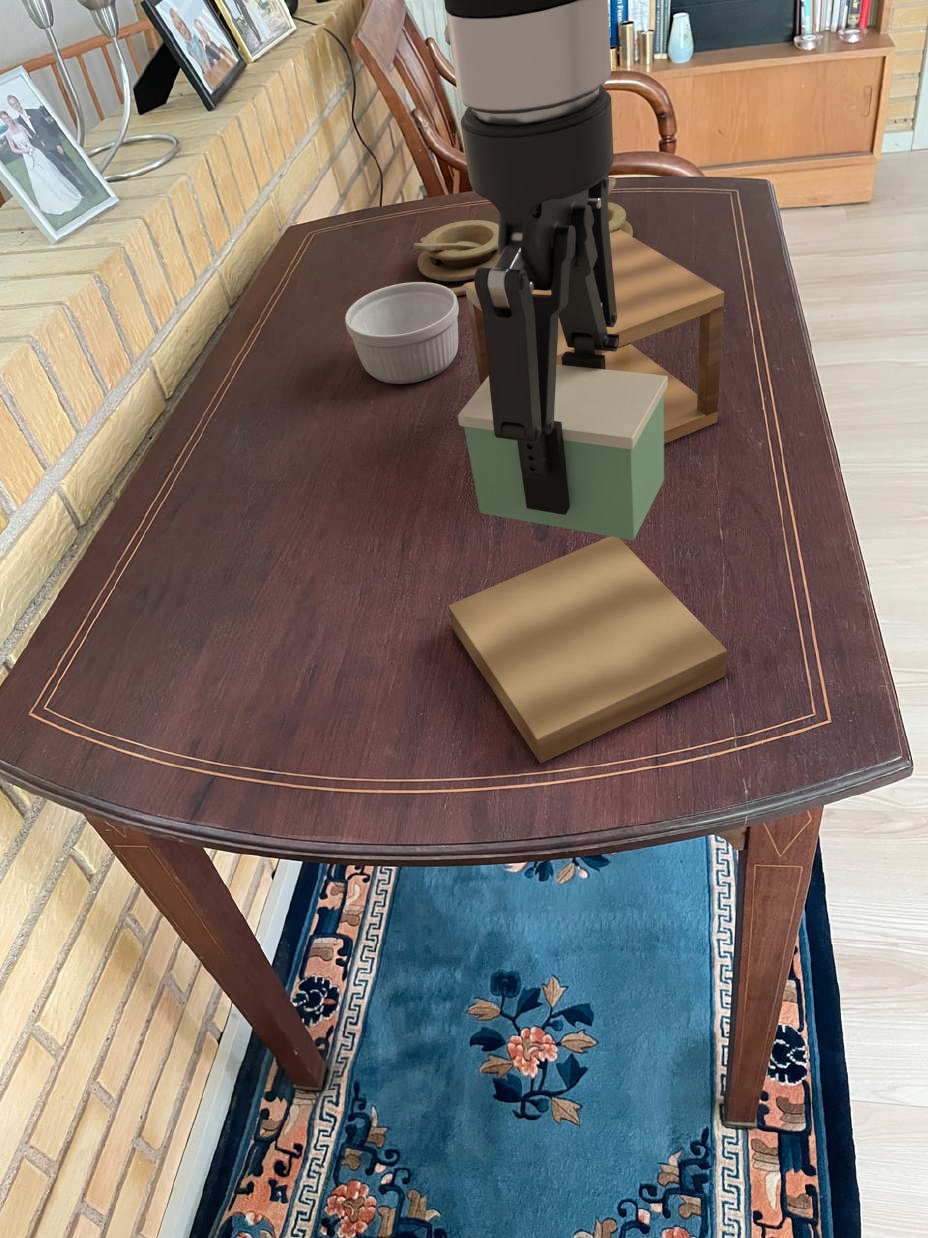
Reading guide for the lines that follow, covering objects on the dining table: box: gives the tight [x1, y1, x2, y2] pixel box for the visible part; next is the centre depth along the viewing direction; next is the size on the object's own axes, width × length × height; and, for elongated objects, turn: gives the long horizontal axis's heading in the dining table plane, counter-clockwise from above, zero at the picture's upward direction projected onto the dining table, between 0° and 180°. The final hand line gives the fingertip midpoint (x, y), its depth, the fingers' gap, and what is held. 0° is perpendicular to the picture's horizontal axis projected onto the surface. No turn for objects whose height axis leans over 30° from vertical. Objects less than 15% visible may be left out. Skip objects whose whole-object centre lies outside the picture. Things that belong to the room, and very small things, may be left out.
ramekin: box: [344, 281, 460, 385], centre depth 108 cm, size 13×13×7 cm
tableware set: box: [412, 176, 634, 297], centre depth 125 cm, size 30×20×6 cm, turn 94°
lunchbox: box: [457, 365, 668, 541], centre depth 60 cm, size 11×7×8 cm, turn 64°
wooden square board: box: [447, 536, 728, 764], centre depth 73 cm, size 16×16×3 cm
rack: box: [464, 230, 725, 445], centre depth 92 cm, size 18×18×14 cm
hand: (569, 472), depth 61 cm, fingers closed on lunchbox, 7 cm apart
